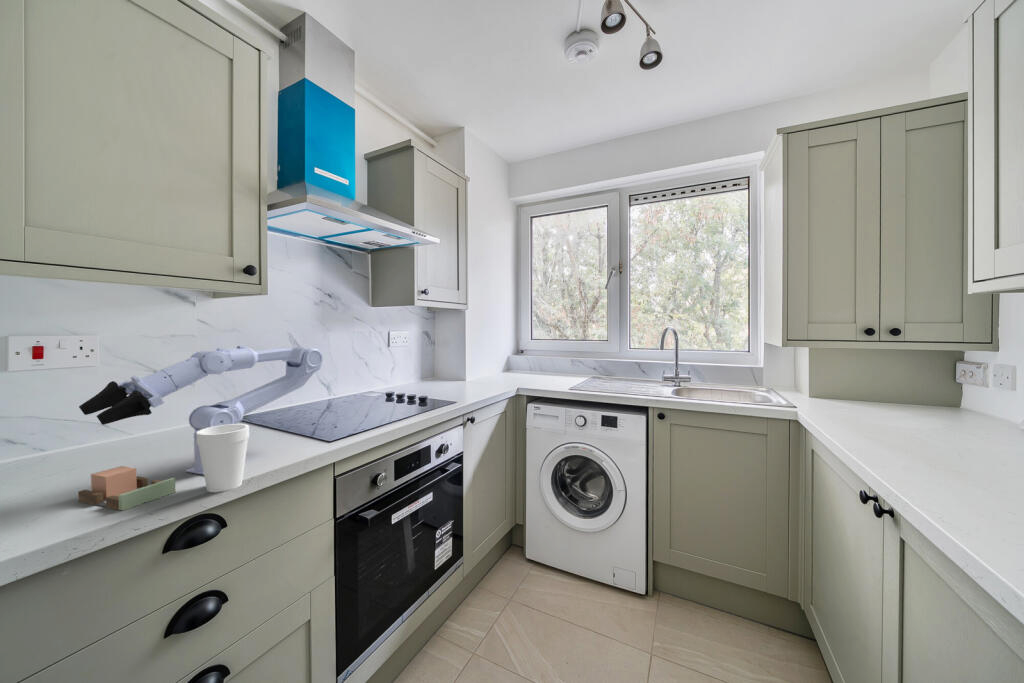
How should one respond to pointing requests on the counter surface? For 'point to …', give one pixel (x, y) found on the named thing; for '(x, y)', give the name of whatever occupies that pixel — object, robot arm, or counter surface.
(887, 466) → the counter surface
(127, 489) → the terracotta block
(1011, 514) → the counter surface
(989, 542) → the counter surface
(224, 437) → the foam cup
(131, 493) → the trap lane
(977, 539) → the counter surface
